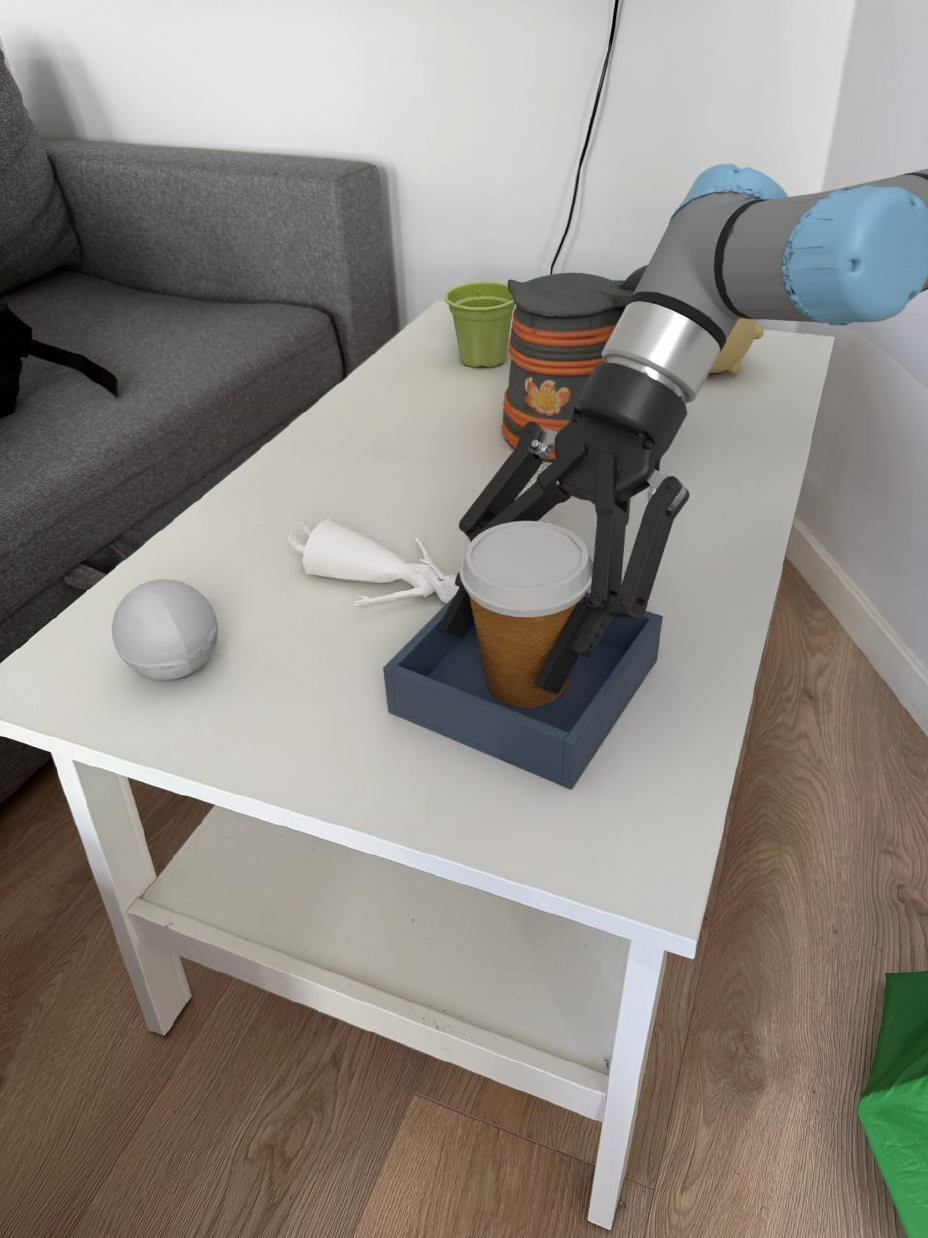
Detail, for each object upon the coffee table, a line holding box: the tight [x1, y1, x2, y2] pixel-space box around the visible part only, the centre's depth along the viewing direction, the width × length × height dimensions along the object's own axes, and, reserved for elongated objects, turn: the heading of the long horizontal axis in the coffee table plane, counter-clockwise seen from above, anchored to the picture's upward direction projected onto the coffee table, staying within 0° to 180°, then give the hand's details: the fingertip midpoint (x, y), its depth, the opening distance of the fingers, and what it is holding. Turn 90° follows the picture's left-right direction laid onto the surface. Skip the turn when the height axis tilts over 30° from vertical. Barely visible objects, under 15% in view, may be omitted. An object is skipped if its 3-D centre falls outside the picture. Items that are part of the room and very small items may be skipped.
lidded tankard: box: [501, 264, 648, 462], centre depth 98 cm, size 19×15×20 cm
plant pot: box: [444, 281, 516, 368], centre depth 119 cm, size 9×9×9 cm
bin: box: [382, 591, 664, 790], centre depth 70 cm, size 16×16×5 cm
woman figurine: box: [288, 518, 459, 607], centre depth 82 cm, size 12×4×18 cm
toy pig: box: [709, 318, 765, 374], centre depth 114 cm, size 10×12×11 cm
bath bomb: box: [111, 578, 219, 681], centre depth 73 cm, size 8×8×8 cm
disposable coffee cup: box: [459, 520, 593, 708], centre depth 68 cm, size 10×10×12 cm
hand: (496, 659), depth 67 cm, fingers closed on disposable coffee cup, 9 cm apart
